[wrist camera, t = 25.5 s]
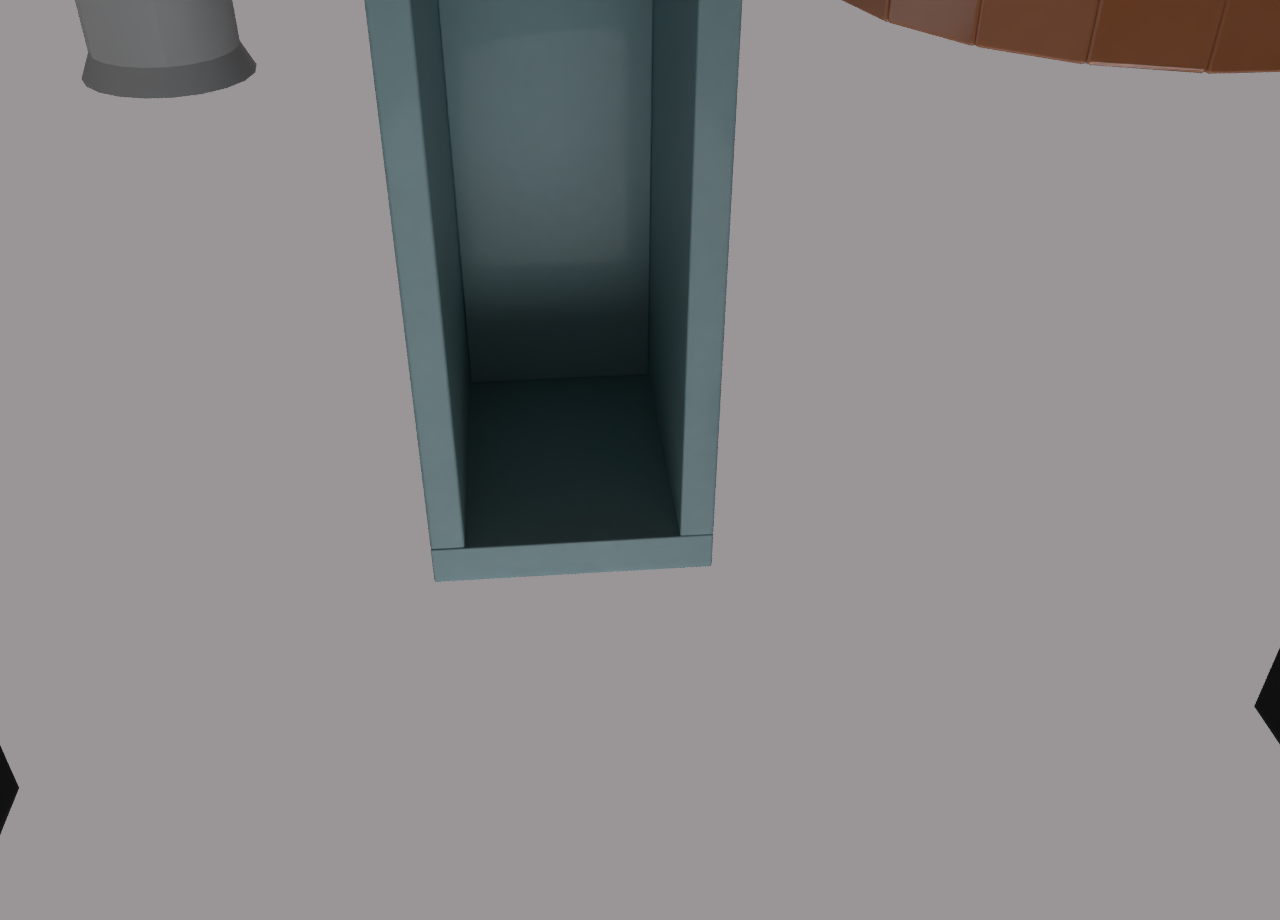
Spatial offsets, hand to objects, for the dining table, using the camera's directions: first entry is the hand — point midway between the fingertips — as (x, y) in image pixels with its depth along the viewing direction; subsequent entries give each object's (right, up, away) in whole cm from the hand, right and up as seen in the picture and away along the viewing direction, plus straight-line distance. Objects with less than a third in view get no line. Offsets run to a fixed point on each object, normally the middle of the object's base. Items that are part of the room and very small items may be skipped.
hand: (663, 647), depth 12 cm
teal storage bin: (-3, +26, +19) cm, 32 cm away
